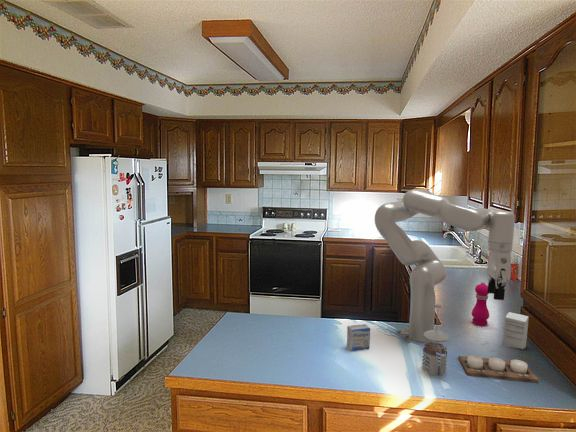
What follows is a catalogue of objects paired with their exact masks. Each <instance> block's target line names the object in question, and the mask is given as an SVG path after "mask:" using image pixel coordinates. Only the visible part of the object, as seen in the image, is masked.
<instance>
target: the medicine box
mask: <svg viewBox="0 0 576 432" xmlns="http://www.w3.org/2000/svg"><path fill="white" fill-rule="evenodd" d="M346 330H347V331H346V347H347V348H348V349H349V350H350V351H351V352H358V351H365V350H370V346H371V328H370V326H368V325H367V324H364V323H363V324H355V325H354V324H353V325H347V327H346ZM364 349H365V350H364ZM357 350H358V351H357Z"/></svg>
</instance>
